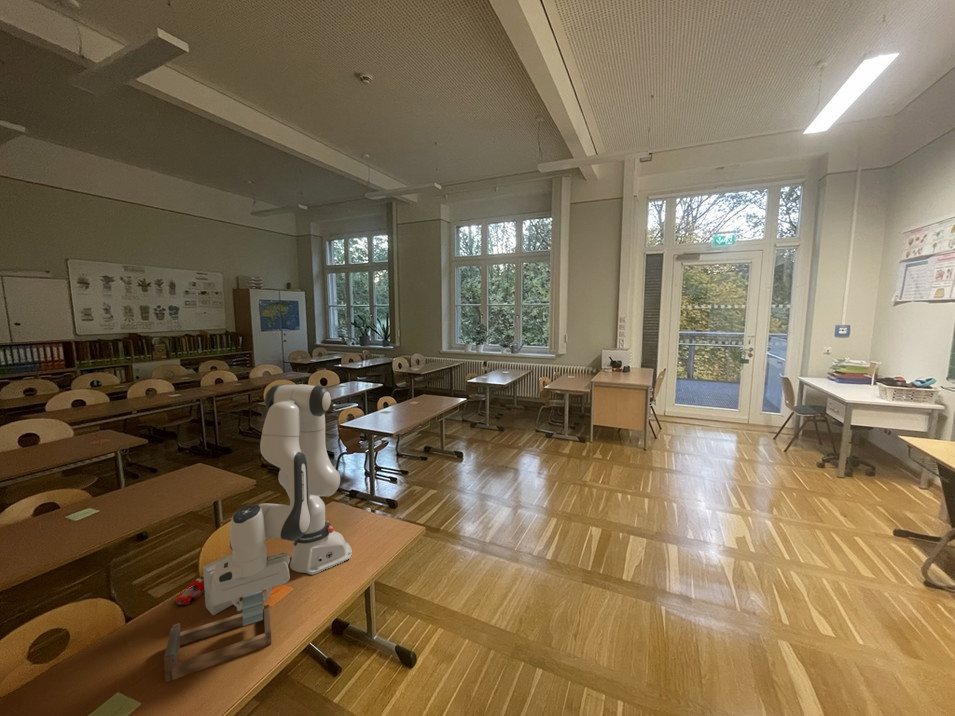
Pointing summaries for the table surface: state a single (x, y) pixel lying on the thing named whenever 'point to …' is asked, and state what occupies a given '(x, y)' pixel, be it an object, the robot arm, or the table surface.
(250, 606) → the grey boxy piece
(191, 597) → the race car
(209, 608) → the skincare box
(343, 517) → the table surface
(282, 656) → the table surface
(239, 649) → the bay
